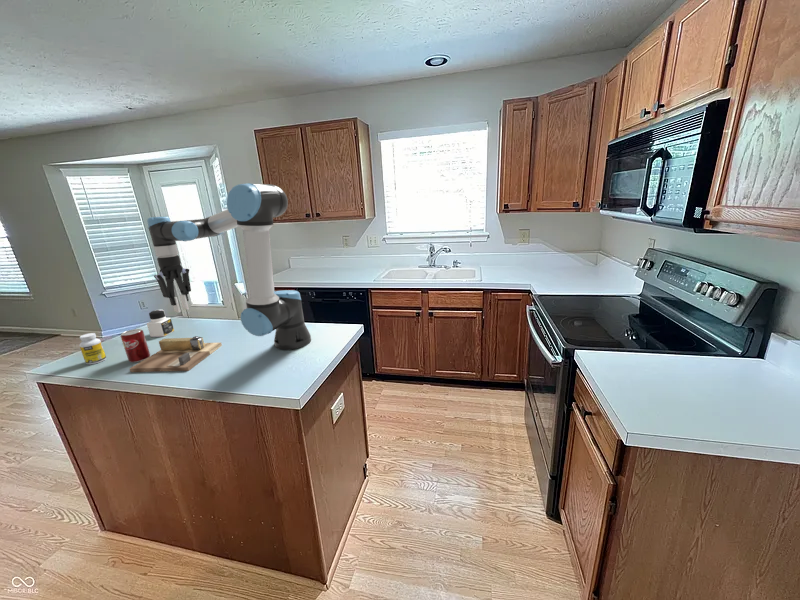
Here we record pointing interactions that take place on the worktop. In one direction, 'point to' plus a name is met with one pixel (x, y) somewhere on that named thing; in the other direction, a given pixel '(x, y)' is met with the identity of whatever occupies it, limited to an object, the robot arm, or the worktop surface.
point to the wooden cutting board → (175, 359)
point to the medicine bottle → (159, 324)
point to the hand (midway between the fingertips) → (182, 310)
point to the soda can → (135, 345)
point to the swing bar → (182, 343)
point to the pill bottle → (92, 349)
